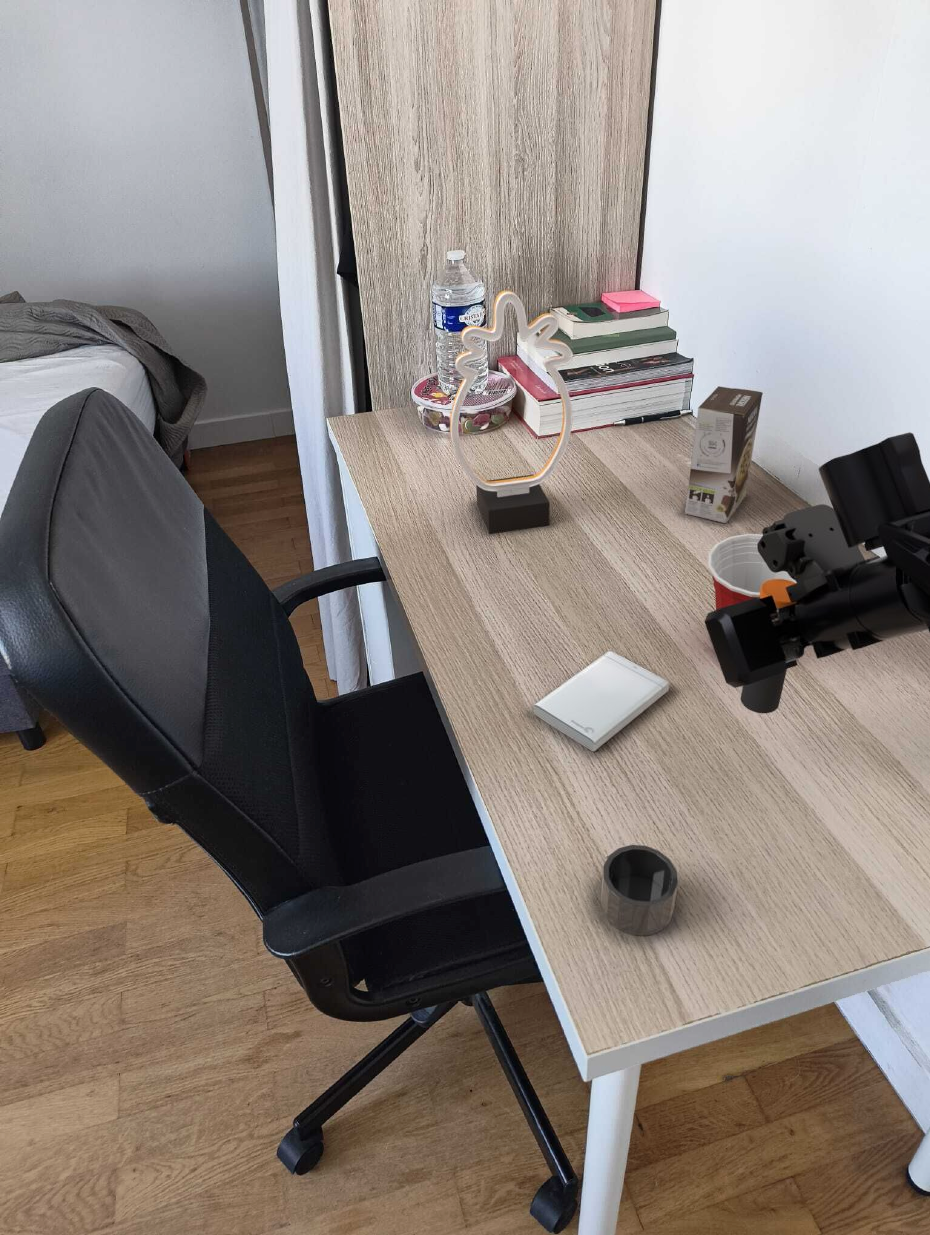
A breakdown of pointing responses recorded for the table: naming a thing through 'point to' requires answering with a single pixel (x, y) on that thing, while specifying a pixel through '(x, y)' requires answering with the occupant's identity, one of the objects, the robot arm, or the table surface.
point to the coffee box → (722, 453)
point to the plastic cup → (739, 570)
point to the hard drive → (601, 700)
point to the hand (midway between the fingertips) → (761, 637)
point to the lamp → (523, 496)
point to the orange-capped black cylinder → (769, 690)
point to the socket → (638, 890)
